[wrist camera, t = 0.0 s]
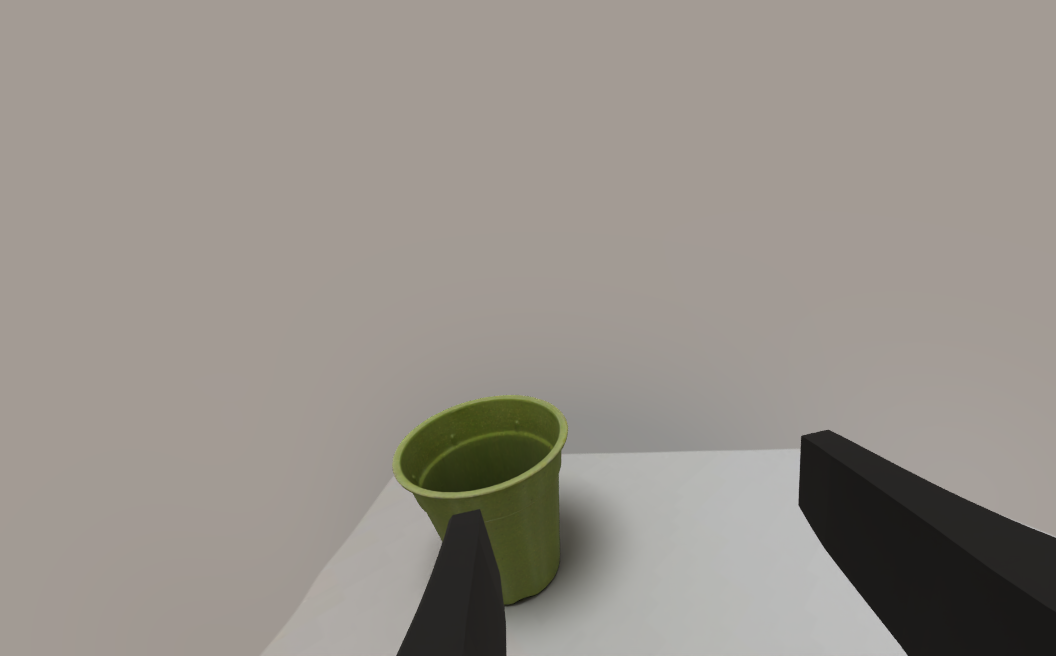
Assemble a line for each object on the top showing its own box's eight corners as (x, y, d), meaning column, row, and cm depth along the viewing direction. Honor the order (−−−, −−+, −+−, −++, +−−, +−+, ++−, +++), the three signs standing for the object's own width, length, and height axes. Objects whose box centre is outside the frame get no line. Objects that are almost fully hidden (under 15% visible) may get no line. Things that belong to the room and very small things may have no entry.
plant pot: (596, 631, 34) (564, 485, 30) (416, 643, 35) (364, 506, 31) (592, 503, 44) (568, 384, 41) (455, 517, 46) (420, 404, 42)
